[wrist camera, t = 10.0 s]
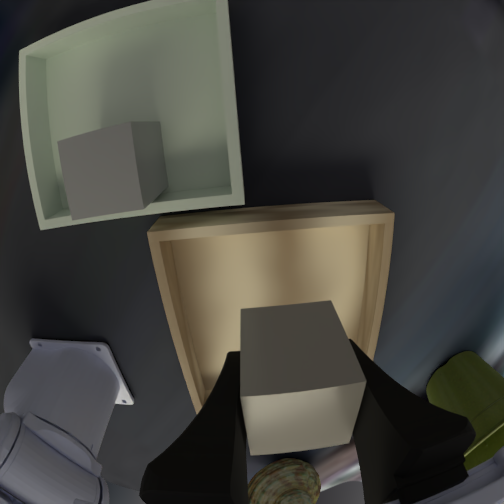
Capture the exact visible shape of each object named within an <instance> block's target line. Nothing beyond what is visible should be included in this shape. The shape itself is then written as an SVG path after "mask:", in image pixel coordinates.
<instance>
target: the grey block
mask: <svg viewBox="0 0 504 504" xmlns="http://www.w3.org/2000/svg"><path fill="white" fill-rule="evenodd" d="M57 144H58V151H59V157H60V163H61V169H62V175H63V180H64V185H65V190H66V195H67V200H68V204H69V209H70V213H71V217H72V220H78V219H84V218H90V217H96V216H102V215H109V214H115V213H122V212H129V211H136V210H143V209H145V208H146V207H147V206H148V205H149V204H150V203H151V202H152V201H154V200H155V199H156V198H157V197H158V196H159V195H160V194H161V193H162V192H163V191H165V190H166V189H167V188H168V187H169V185H168V178H167V171H166V164H165V157H164V149H163V142H162V134H161V125H160V121H134V122H126V123H122V124H118V125H114V126H110V127H106V128H102V129H98V130H94V131H91V132H87V133H83V134H80V135H77V136H73V137H70V138H67V139H63V140H60V141H57Z"/></svg>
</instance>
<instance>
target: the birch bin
mask: <svg viewBox="0 0 504 504" xmlns="http://www.w3.org/2000/svg"><path fill="white" fill-rule="evenodd" d="M394 214H395V213H394V212H392V211H391V210H389V209H388V208H386V207H385V206H383V205H382V204H380V203H379V202H377V201H376V200H360V201H339V202H321V203H304V204H289V205H275V206H262V207H250V208H238V209H227V210H216V211H206V212H196V213H186V214H177V215H168V216H160V217H159V218H158V220H157V221H156V222H155V223H154V224H153V226H152V227H151V228H150V229H149V230H148V232H147V235H148V240H149V245H150V250H151V254H152V259H153V263H154V268H155V272H156V276H157V281H158V285H159V289H160V293H161V297H162V301H163V305H164V309H165V312H166V316H167V320H168V324H169V327H170V331H171V334H172V338H173V341H174V345H175V348H176V352H177V355H178V358H179V361H180V365H181V368H182V371H183V374H184V377H185V380H186V383H187V387H188V390H189V393H190V395H191V398H192V401H193V404H194V407H195V410H196V413H197V414H198V413H199V411H200V410H201V408H202V407H203V405H204V404H205V402H206V400H207V398H208V397H209V395H210V393H211V391H212V390H213V388H214V386H215V383H216V381H217V379H218V377H219V375H220V373H221V370H222V368H223V365H224V362H225V359H226V356H227V353H228V352H229V351H240V310H241V309H243V308H256V307H267V306H279V305H289V304H299V303H309V302H319V301H328V300H331V301H332V303H333V306H334V308H335V310H336V312H337V314H338V317H339V319H340V321H341V323H342V325H343V328H344V330H345V332H346V334H347V337H348V339H352V340H353V341H354V342H355V343H356V344H357V345H358V347H359V348H360V349H361V350H362V351H363V352H364V353H365V354H366V355H367V356H368V357H369V358H370V359H371V360H372V361H373V358H374V353H375V349H376V344H377V339H378V334H379V329H380V324H381V318H382V313H383V307H384V301H385V294H386V288H387V281H388V274H389V266H390V257H391V248H392V238H393V227H394Z"/></svg>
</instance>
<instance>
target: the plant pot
mask: <svg viewBox="0 0 504 504" xmlns="http://www.w3.org/2000/svg"><path fill="white" fill-rule="evenodd" d="M426 391H427V395H428V399H429V402H430V403H431V404H433V405H435V406H438V407H440V408H442V409H445V410H447V411H450V412H453V413H456V414H459V415H462V416H465V417H467V418H468V420H469V421H470V423H471V424H472V426H473V428H474V430H475V432H476V437H475V440H474V441H473V443H472V444H471V445H470V446H469V448H468V449H467V450H466V451H465V453H464V454H463V455H464V457H465V459H466V461H465V462H464V463H463V464H464V466H465V468H466V470H467V471H468V470H470V469H472V468H474V467H476V466H478V465H479V464H481V463H483V462H485V461H487V460H488V459H490V458H492V457H493V456H494V455H495V453H496V452H497V451H498V450H499V449H500V448H502V447H503V446H504V378H503V377H502V376H501V375H500V374H499V373H498V372H497V371H496V370H494V369H493V368H492V367H491V366H490V365H489V364H487V363H486V362H485V361H484V360H483V359H482V358H481V357H479V356H478V355H477V354H476V353H474V352H472V351H465V352H462V353H459V354H457V355H455V356H453V357H452V358H450V359H449V361H448V362H447V364H445V365H444V366H443V367H440V368H438V369H437V371H436V372H435V373H434V374H433V376H432V377H431V379H430V380H429V382H428V385H427V389H426Z"/></svg>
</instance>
